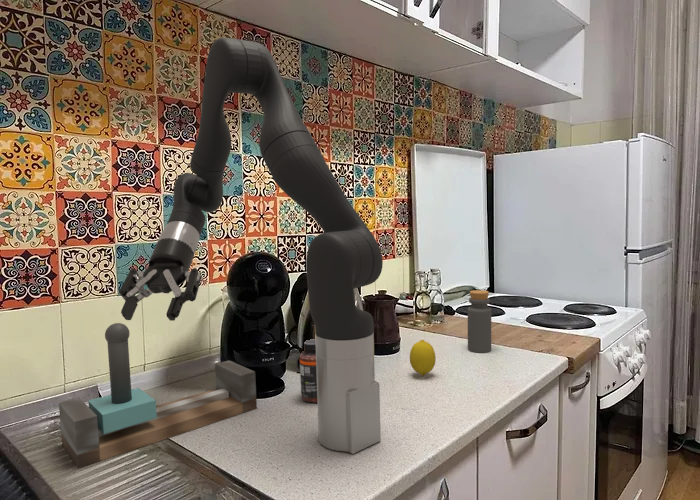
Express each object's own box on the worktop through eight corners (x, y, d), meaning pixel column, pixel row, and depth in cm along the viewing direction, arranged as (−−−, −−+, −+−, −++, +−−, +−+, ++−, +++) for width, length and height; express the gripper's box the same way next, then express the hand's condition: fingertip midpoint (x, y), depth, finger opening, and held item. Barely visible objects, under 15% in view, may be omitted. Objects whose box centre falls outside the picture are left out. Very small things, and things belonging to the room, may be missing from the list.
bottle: (463, 348, 126) (462, 291, 125) (481, 345, 128) (480, 288, 127) (477, 354, 121) (477, 294, 119) (496, 350, 123) (496, 292, 122)
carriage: (139, 404, 85) (133, 315, 84) (156, 417, 80) (150, 322, 78) (89, 418, 80) (82, 323, 79) (103, 434, 74) (96, 332, 73)
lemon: (434, 371, 109) (434, 336, 108) (436, 380, 103) (436, 343, 103) (409, 371, 109) (409, 336, 109) (410, 380, 104) (409, 343, 103)
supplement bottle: (331, 391, 99) (329, 336, 98) (332, 403, 93) (330, 344, 92) (301, 392, 98) (299, 337, 97) (300, 404, 92) (298, 346, 91)
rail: (230, 394, 99) (228, 360, 98) (256, 408, 91) (255, 371, 91) (62, 445, 79) (58, 402, 78) (78, 468, 71) (74, 422, 71)
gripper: (134, 237, 96) (101, 306, 86) (202, 236, 94) (177, 306, 84) (150, 261, 102) (121, 328, 91) (215, 260, 100) (192, 329, 89)
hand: (148, 318), depth 88 cm, fingers open, 8 cm apart
